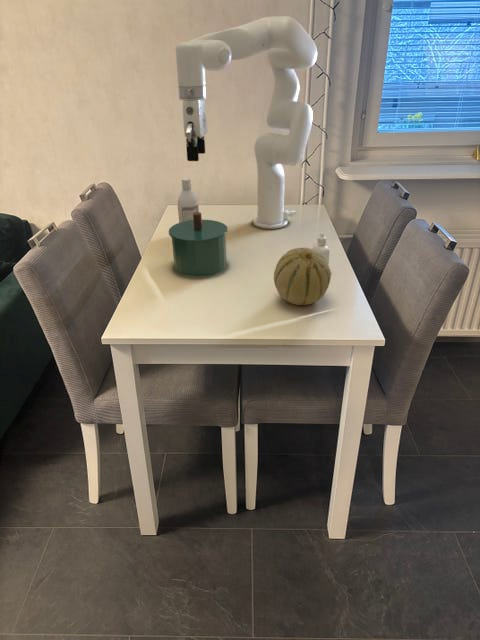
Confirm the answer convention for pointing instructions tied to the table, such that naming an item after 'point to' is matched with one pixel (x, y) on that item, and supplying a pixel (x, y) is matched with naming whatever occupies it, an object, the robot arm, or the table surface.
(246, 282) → the table surface
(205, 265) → the tin
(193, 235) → the tin lid
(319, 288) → the cantaloupe
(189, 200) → the bath foam
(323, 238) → the eye dropper bottle
